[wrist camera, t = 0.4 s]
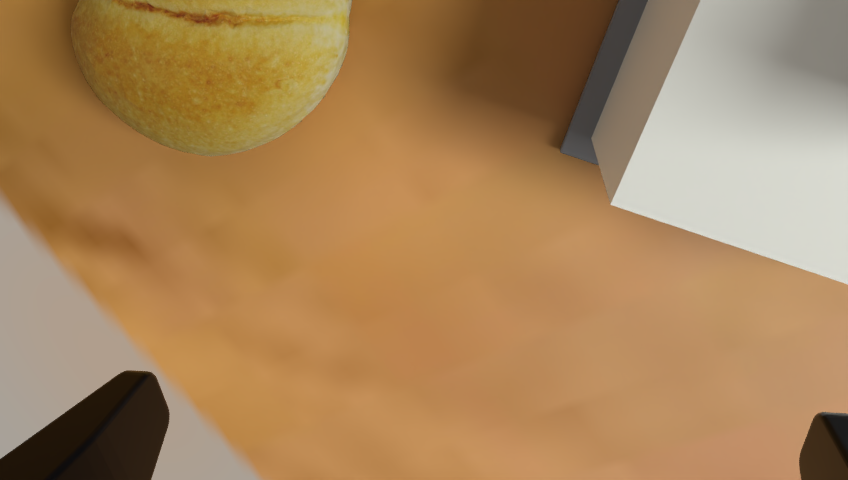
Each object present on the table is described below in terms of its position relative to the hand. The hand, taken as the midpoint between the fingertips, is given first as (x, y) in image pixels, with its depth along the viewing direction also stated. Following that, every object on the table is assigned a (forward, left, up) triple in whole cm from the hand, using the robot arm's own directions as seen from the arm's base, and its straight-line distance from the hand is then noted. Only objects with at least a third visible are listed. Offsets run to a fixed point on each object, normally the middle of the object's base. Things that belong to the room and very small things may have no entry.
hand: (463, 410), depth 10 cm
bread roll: (+6, +8, -14) cm, 17 cm away
